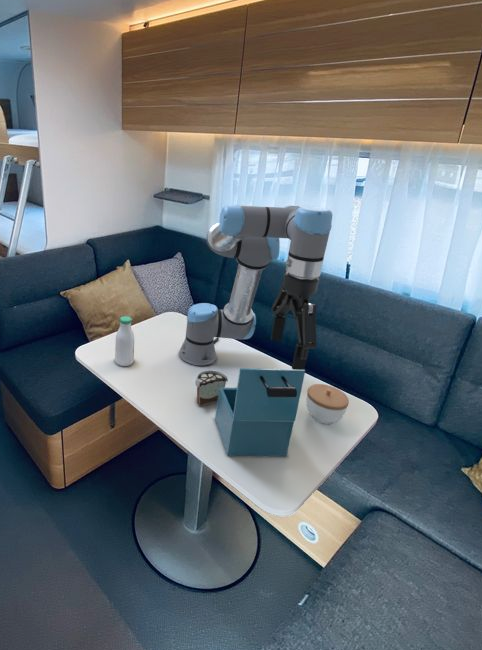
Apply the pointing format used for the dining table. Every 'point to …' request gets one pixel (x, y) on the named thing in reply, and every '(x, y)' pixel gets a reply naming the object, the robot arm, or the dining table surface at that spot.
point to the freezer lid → (268, 394)
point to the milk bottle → (124, 343)
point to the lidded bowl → (326, 403)
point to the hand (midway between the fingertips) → (286, 353)
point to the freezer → (249, 431)
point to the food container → (209, 386)
